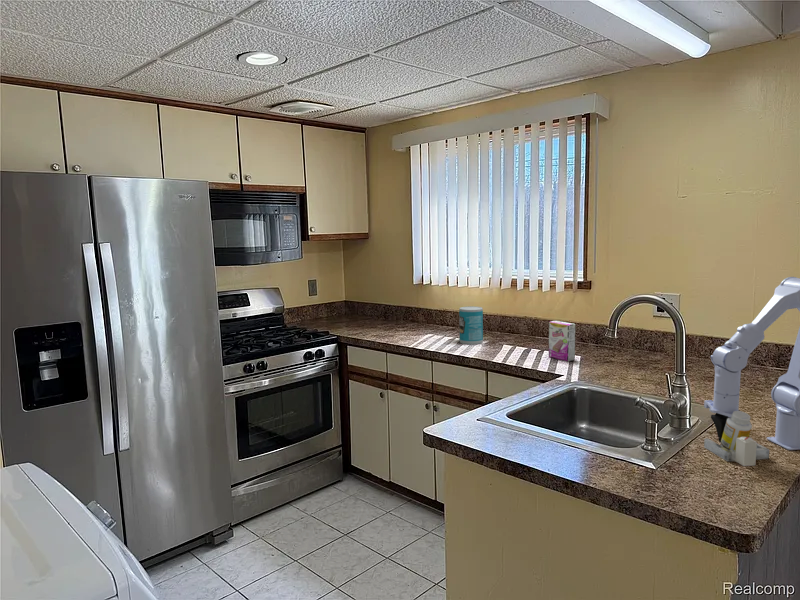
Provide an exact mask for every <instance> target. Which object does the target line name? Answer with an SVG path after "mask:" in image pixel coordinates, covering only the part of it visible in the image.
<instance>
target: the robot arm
mask: <svg viewBox="0 0 800 600" xmlns="http://www.w3.org/2000/svg"><path fill="white" fill-rule="evenodd" d="M773 293H774V294H773V296H771V298H770V299H769V300H768V302H767V303H766V304H765V306H763V308H762V310H761V311H760V312H758V314H757V316H755V318H754V319H753V320H752V322H750V323H745V324H742V326H741V325H740V326H738V327H737V328H736V331H735V333H734V334H733V335H732V336H731V337H730V338H729V340H727V341H726V342H725V343H724V344H723V345H721V346H718V347H717V348H715V349H714V351H713V353H712V355H710V360H711V362H712V364H713V366H714V368H713V369H714V386H713V400H712V399H709V400H707V399H706V400H705V399H704V403H703V407H704V409H705V408H706V409H709V412H710V413H714V414H711V415H710V419H711V421H712V422H713V424H714V427H715V430H716V434H717V438H718V442H719V443H720V444H721V439H722V435H723V432H724V428H725V424H726V421H727V418H729V417H731V416H732V413H733V412H734V411H741V410H740V409H739V407H740V405H739V404H740V393H741V392H740V388H741V377H742V376H741V374H742V373H741V372H742V370H743V369H745V368H747V367H746V366H747V364H748V362H749V361H748V359H749V357H750V354H751V353H753V351H755V349H756V348H757V347H758V346H759V345H760V344H761V343H762V342H763V340H765V331H767V329H768V328H769V327H770V326H771V325H773V324H774V322H776V321H777V320H778V319H779V318H780V317H782V315H784V313H786V311H788V310H793V309H796V310H797V311H799V312H800V278H798V277H796V276H787V277H786V278H783V280H782V281H780V283H779V285H778V286H776V287H775V288H774V292H773ZM770 396H771V397H770V398H771V400H772V402H774V404H775V408H776V419H775V432H774V434H775V435H774V436H767V437H766V440H768V441H770V442H772V443H774V444H777V445H779V446H780V447H782V448H784V449H786V450H788V451H796V450H800V326H799V327H798V332H797V335H796V339H795V342H794V346H793V350H792V353H791V358H790V361H789V365H788V369H787V371H786V373H784V374H782V375H780V376H779V377H778V380H777V382H776V384H774V386H773V388H772V389H771V392H770ZM742 419H744V418H742ZM747 425H749V424H747ZM741 426H743V425H741Z"/></svg>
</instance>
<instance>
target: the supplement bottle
mask: <svg viewBox="0 0 800 600" xmlns="http://www.w3.org/2000/svg"><path fill="white" fill-rule="evenodd" d="M742 418H744V419H742ZM747 424H749V425H747ZM741 425H743V426H741ZM752 428H753V426H752V423H751V416H750V414H748V413H747V412H745V411H742V410H740V411H734V412H733V413H732V416H731V417H729V418H727V421H726V424H725V428H724V432H723V435H722V439H721V443H720V446H722V447H724V448H726V449H727V450H736V438H740V437H750V435H751V431H752Z"/></svg>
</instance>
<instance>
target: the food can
mask: <svg viewBox="0 0 800 600" xmlns="http://www.w3.org/2000/svg"><path fill="white" fill-rule="evenodd" d="M458 311H459V312H458V313H459V316H458V319H459V321H458V322H459V323H458V324H459V326H458V327H459V331H458V333H459V343H460V344H462V345H469V346H472V345H473V346H475V345H481V344H483V341H484V320H483V319H484V317H483V316H484V310H483V307H481V306H473V305H472V306H461V307H459V310H458Z"/></svg>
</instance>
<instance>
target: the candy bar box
mask: <svg viewBox="0 0 800 600" xmlns="http://www.w3.org/2000/svg"><path fill="white" fill-rule="evenodd" d="M548 358H551V359H555V360H560V361H564V362H568V363H569V362H572V361H575V360H576V324H575V323H570V322H565V321H559V320H552V321H549V322H548Z"/></svg>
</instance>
